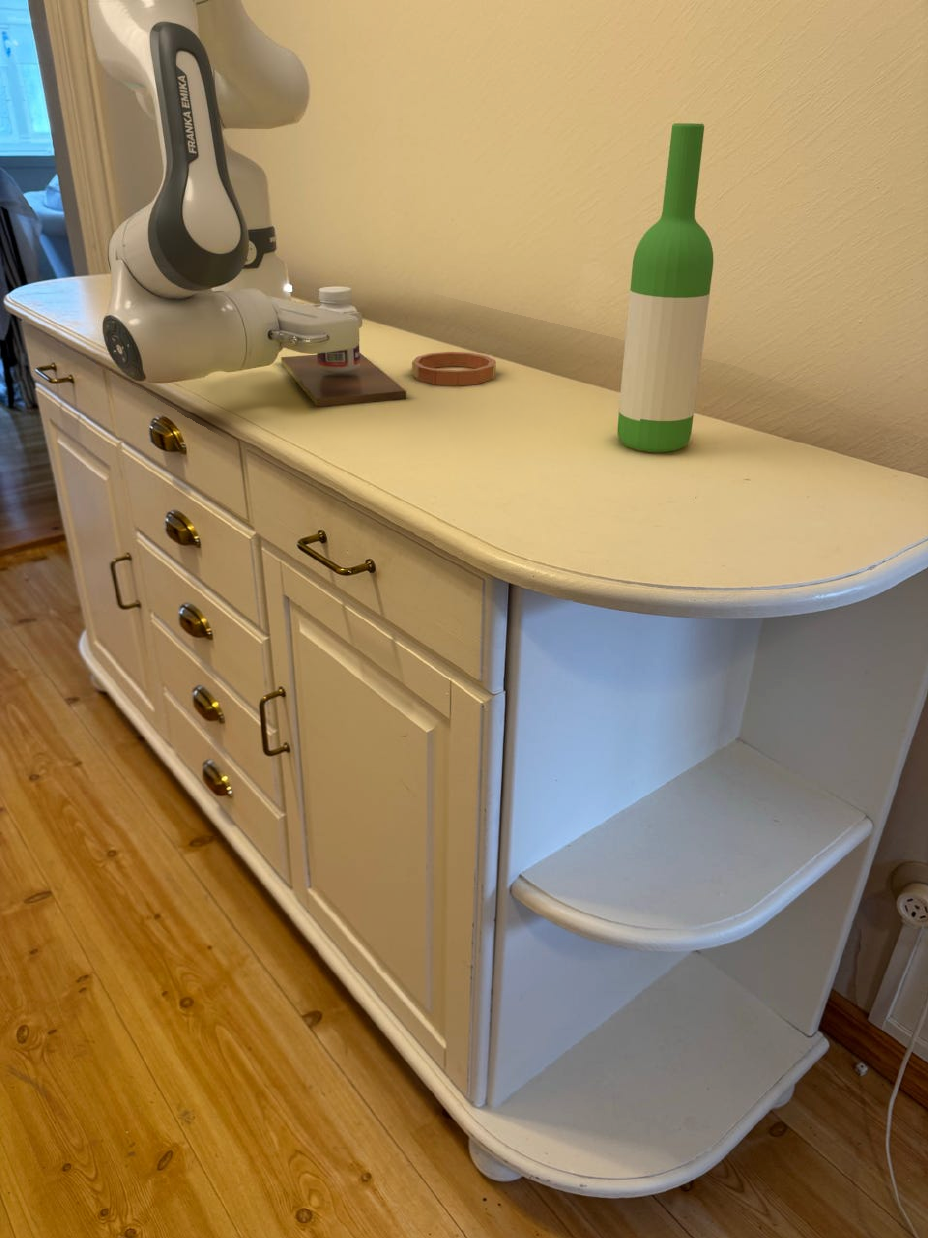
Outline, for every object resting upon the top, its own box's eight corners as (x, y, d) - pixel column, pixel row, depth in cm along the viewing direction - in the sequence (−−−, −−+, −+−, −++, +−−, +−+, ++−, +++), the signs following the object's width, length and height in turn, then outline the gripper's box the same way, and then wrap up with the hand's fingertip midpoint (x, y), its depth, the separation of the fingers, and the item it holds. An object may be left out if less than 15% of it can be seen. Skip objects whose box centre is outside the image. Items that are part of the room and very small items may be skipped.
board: (281, 364, 127) (280, 356, 127) (358, 358, 131) (358, 351, 130) (317, 406, 109) (316, 398, 109) (406, 398, 113) (406, 390, 112)
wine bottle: (684, 459, 94) (727, 124, 79) (608, 449, 96) (637, 122, 82) (694, 437, 100) (736, 123, 86) (623, 429, 103) (653, 122, 88)
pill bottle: (342, 361, 122) (339, 283, 118) (368, 368, 119) (365, 288, 114) (309, 367, 119) (304, 288, 114) (335, 375, 116) (330, 293, 111)
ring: (402, 368, 126) (402, 355, 125) (476, 362, 129) (477, 349, 128) (428, 388, 117) (428, 374, 116) (507, 381, 120) (507, 367, 119)
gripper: (297, 314, 100) (395, 299, 108) (199, 289, 113) (293, 278, 121) (301, 372, 103) (396, 354, 111) (205, 342, 116) (297, 328, 124)
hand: (341, 314), depth 116 cm, fingers closed on pill bottle, 5 cm apart
